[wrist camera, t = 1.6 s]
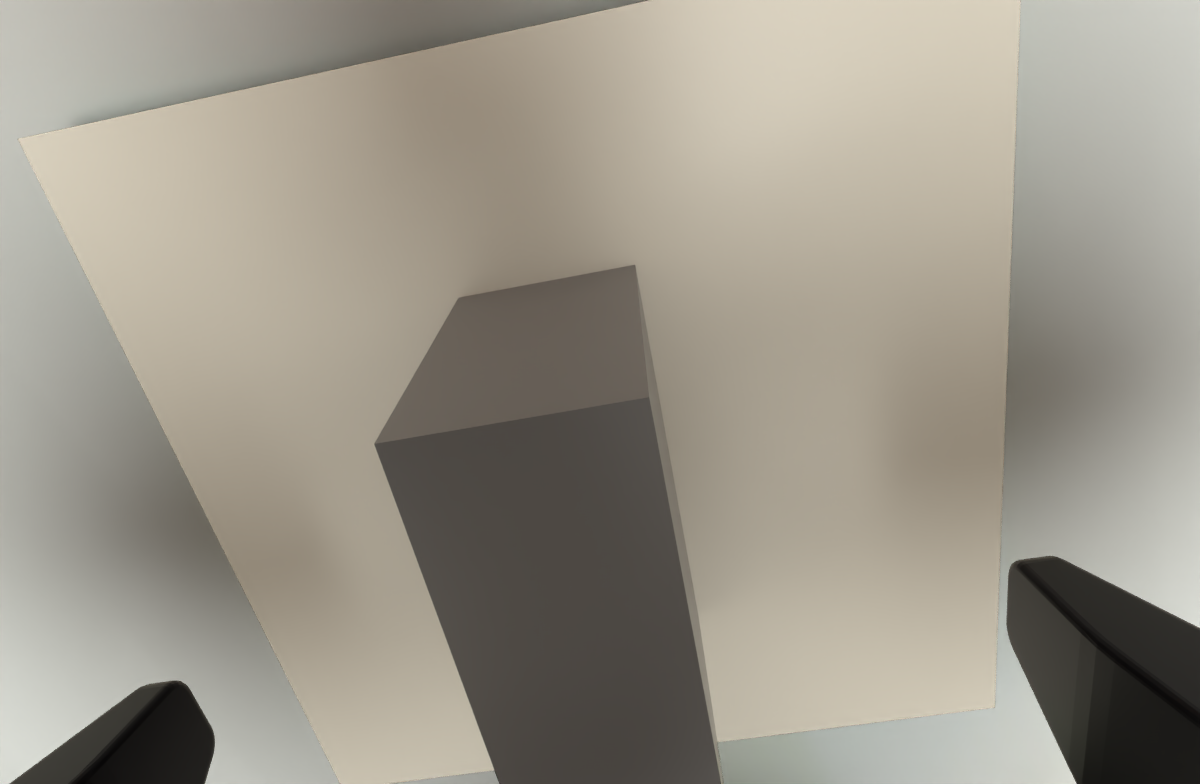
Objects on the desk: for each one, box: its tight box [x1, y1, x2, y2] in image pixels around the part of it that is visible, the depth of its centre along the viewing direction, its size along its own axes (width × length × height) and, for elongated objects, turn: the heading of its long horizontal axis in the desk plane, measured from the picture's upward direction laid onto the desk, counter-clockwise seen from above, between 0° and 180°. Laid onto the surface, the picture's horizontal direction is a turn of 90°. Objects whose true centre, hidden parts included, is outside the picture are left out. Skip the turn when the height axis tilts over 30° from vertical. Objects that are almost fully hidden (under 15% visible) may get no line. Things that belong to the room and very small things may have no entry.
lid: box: [18, 0, 1021, 784], centre depth 10 cm, size 12×12×5 cm
